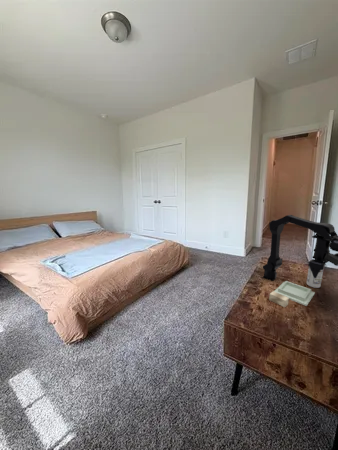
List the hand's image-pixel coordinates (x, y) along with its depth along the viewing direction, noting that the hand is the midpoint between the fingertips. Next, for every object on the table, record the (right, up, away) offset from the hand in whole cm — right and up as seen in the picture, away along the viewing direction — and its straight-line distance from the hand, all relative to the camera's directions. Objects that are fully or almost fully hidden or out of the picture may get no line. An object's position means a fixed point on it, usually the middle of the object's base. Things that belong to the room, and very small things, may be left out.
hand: (316, 274), depth 102 cm
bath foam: (+9, -11, +15) cm, 21 cm away
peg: (-21, -15, -1) cm, 26 cm away
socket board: (-8, -13, +6) cm, 16 cm away
